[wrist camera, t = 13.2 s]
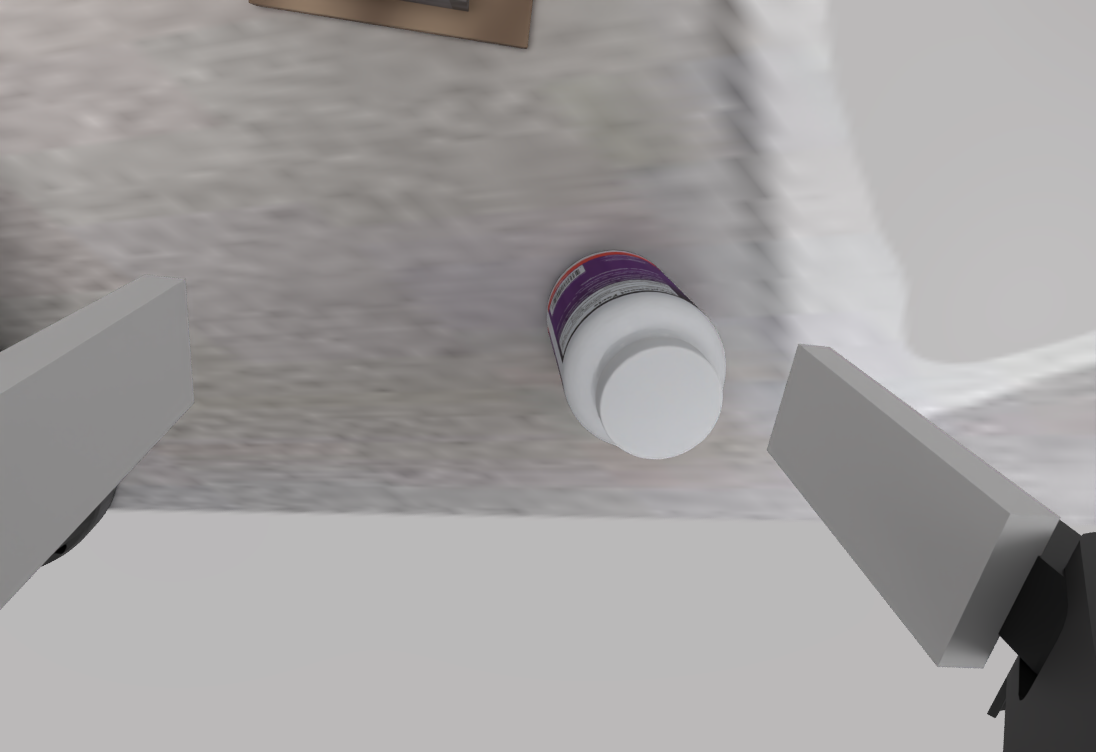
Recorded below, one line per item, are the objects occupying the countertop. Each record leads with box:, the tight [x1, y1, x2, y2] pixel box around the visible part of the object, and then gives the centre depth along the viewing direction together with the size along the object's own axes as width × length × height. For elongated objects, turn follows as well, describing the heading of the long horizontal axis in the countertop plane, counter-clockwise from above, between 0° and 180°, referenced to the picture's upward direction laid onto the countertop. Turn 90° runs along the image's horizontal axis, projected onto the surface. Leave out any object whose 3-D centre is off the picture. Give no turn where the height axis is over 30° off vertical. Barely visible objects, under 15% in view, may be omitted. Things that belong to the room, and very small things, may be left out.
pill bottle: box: [547, 250, 726, 459], centre depth 36 cm, size 8×8×14 cm
